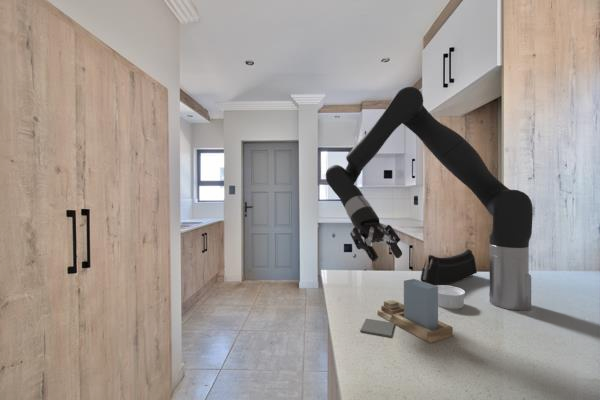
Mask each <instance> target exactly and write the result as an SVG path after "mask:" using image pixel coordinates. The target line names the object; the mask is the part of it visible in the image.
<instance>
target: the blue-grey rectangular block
mask: <svg viewBox="0 0 600 400" xmlns="http://www.w3.org/2000/svg"><path fill="white" fill-rule="evenodd" d="M403 305H404V318H406V319H408V320H410V321H412V322H414V323H416V324H418V325H420V326H422V327H424V328H427V329H429V330H431V331H434V330H437V329H438V321H439V306H438V285H432V284H429V283H426V282H423V281H421V280H419V279H417V278H416V279H415V278H411V279H407V280H406V279H405V280H403Z"/></svg>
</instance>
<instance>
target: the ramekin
mask: <svg viewBox="0 0 600 400" xmlns="http://www.w3.org/2000/svg"><path fill="white" fill-rule="evenodd" d="M437 286H438V307H440V308H443V309H450V310H458V309H459V308H460V309H462V308H463V307H464V305H465V295H466V291H465V290H464V289H463V288H460V287H458V286H457V287H456V286H452V285H448V284H446V285H437Z"/></svg>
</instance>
